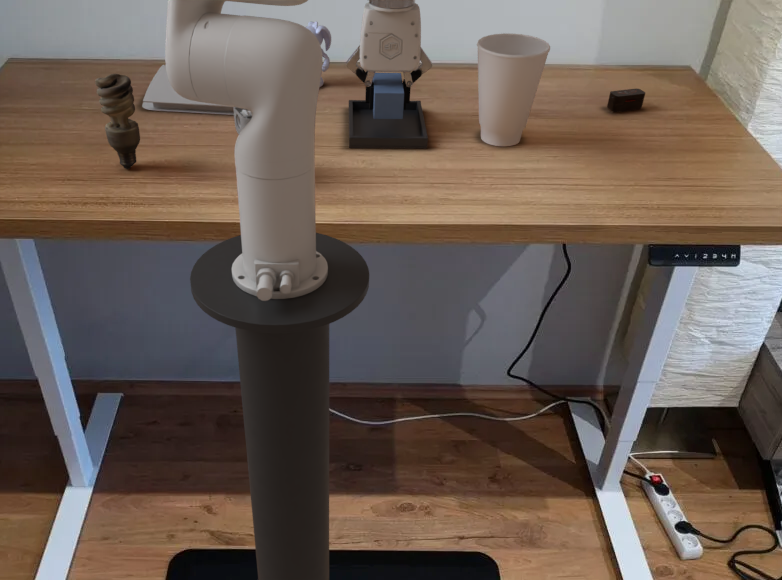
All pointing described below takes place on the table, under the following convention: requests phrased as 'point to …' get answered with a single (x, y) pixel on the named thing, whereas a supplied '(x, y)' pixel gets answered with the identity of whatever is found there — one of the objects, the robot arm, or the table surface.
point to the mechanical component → (241, 118)
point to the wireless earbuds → (625, 100)
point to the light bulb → (119, 116)
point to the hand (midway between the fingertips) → (387, 105)
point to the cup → (508, 84)
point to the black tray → (386, 128)
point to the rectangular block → (388, 96)
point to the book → (176, 98)
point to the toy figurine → (320, 34)
